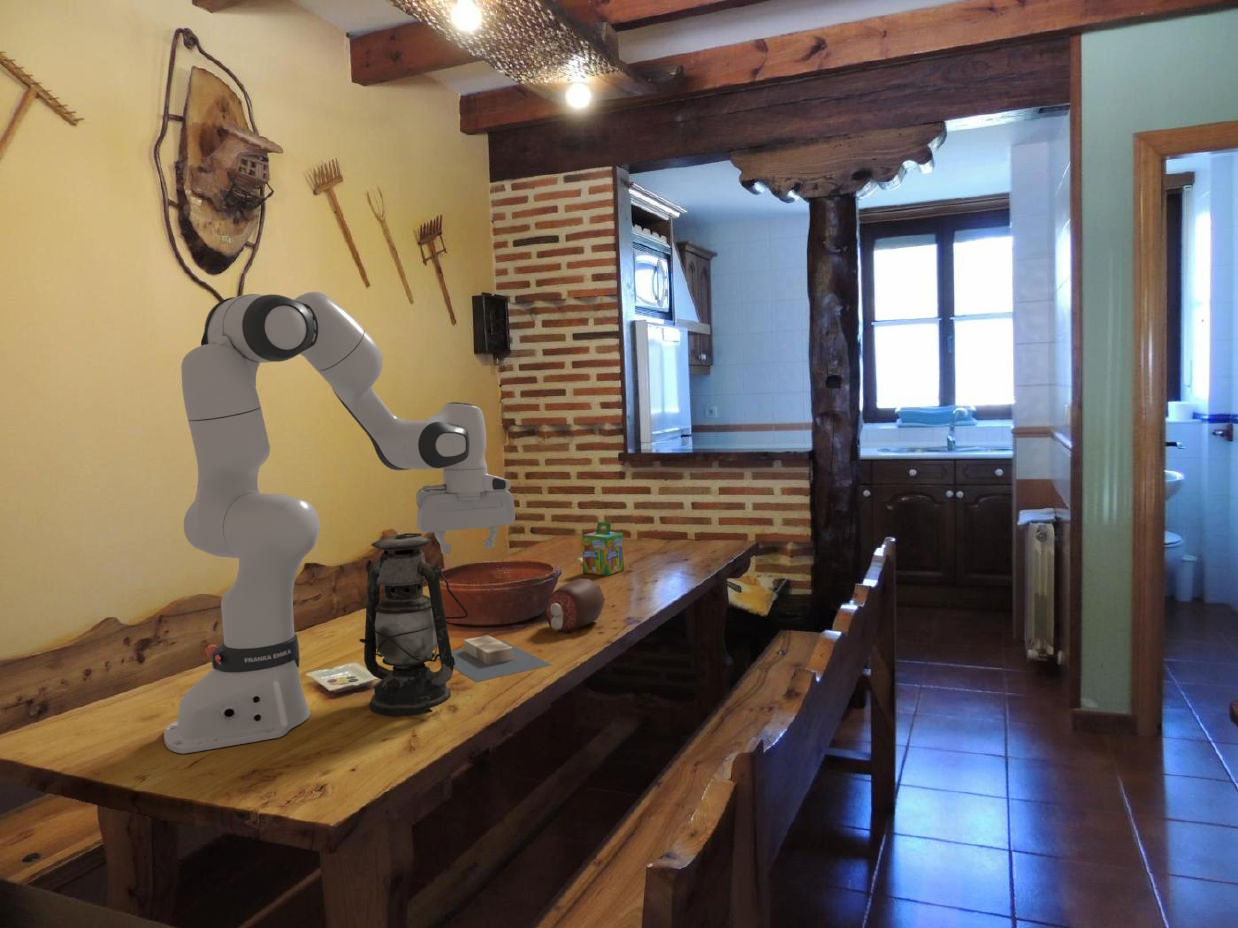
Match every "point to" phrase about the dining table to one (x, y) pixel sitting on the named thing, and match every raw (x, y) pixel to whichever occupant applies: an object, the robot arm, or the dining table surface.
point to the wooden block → (488, 649)
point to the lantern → (406, 629)
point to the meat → (574, 605)
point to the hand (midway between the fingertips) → (467, 550)
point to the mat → (485, 672)
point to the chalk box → (603, 551)
